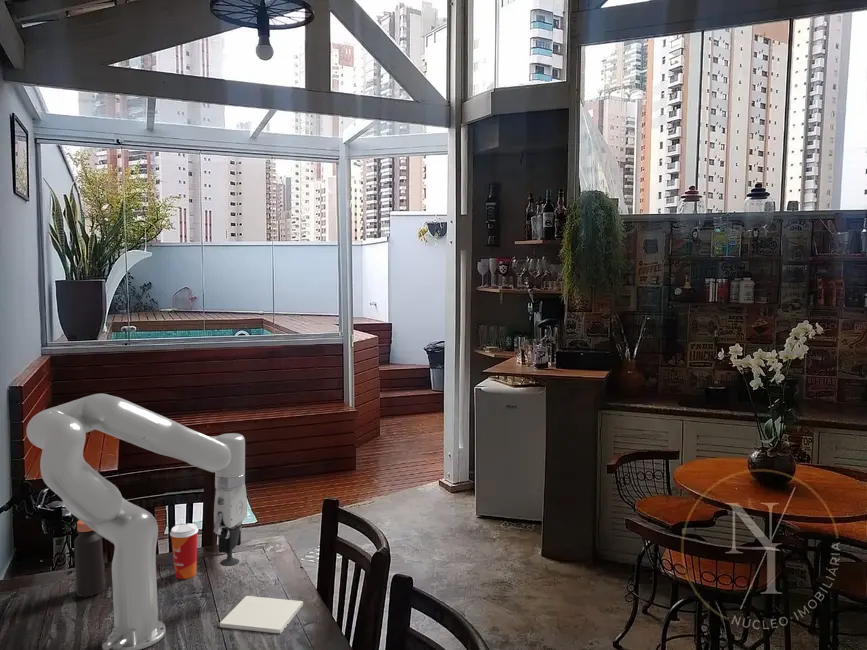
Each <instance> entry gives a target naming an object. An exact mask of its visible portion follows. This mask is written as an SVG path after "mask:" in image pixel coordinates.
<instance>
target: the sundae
mask: <svg viewBox="0 0 867 650" xmlns="http://www.w3.org/2000/svg"><path fill="white" fill-rule="evenodd" d="M222 525H224V526H225V524H224V523H223V524H222ZM241 526H242V527H243V526H244V525H243V522H242V523H241V522H240V523H238V524H237V525H235V526H234V527H232V528H230V530H229V531H230V535H229V538H231V552H230V553H226V554H227V555H226V558H224V559H222V560H221V561H220V562H219V564H220V565H221V566H222V567H231V566H232V567H233V566H236V565H238V564H239V563H240V560H239V559H238V558H234V557H233V550H235V548H236V547H237V546H238V545H237V543H238V538H239V531H240V527H241ZM222 530H224V531H225V532H226V529H225V528H222Z"/></svg>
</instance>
